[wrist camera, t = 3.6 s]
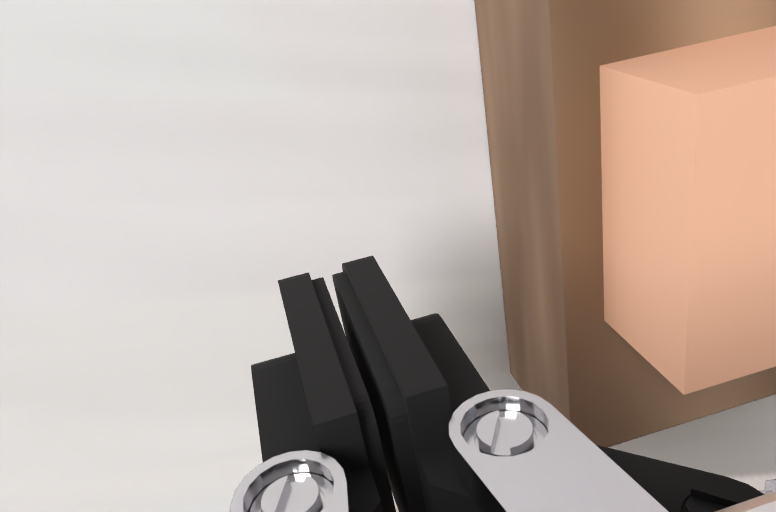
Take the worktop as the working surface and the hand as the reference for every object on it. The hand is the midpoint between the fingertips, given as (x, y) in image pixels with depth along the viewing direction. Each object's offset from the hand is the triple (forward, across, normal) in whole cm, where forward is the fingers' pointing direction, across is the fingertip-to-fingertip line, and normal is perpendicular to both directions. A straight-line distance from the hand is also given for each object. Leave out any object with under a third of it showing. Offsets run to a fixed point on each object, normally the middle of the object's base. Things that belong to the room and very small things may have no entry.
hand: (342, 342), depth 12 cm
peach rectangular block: (+2, -11, 0) cm, 11 cm away
